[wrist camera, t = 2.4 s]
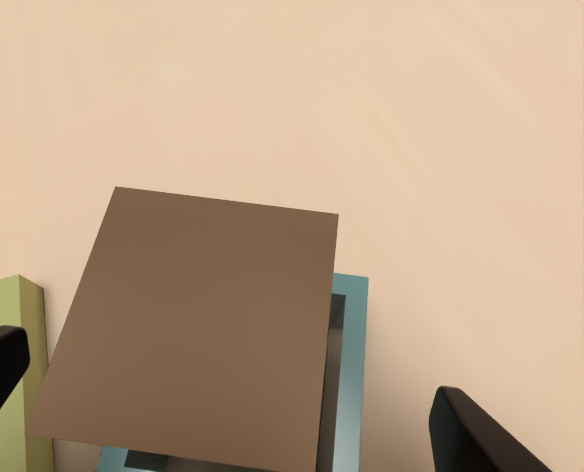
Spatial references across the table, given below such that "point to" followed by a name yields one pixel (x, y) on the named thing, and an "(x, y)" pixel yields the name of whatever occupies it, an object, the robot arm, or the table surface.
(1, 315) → the olive tray
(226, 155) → the table surface
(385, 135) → the table surface
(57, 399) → the walnut stick
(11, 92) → the table surface
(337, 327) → the teal open box
